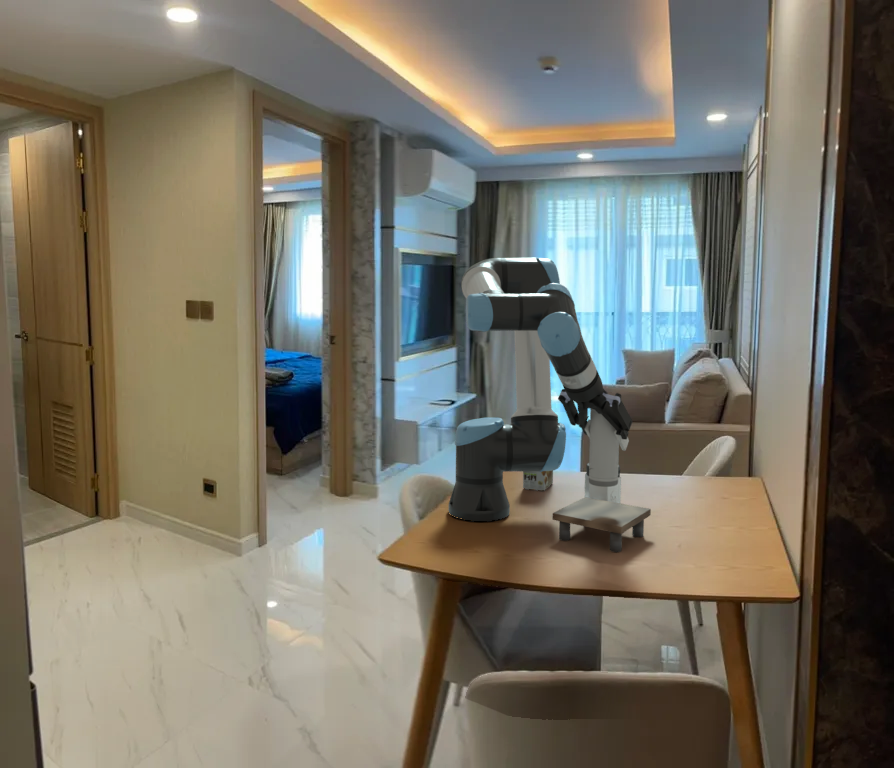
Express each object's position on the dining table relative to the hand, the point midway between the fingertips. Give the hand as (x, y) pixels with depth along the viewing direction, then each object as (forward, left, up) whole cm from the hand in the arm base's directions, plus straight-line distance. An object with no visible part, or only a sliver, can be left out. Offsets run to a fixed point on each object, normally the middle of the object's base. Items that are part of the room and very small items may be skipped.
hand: (610, 443), depth 160 cm
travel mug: (0, -4, -9) cm, 9 cm away
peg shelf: (0, -3, -21) cm, 21 cm away
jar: (-8, +14, -21) cm, 26 cm away
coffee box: (-33, +26, -21) cm, 47 cm away
